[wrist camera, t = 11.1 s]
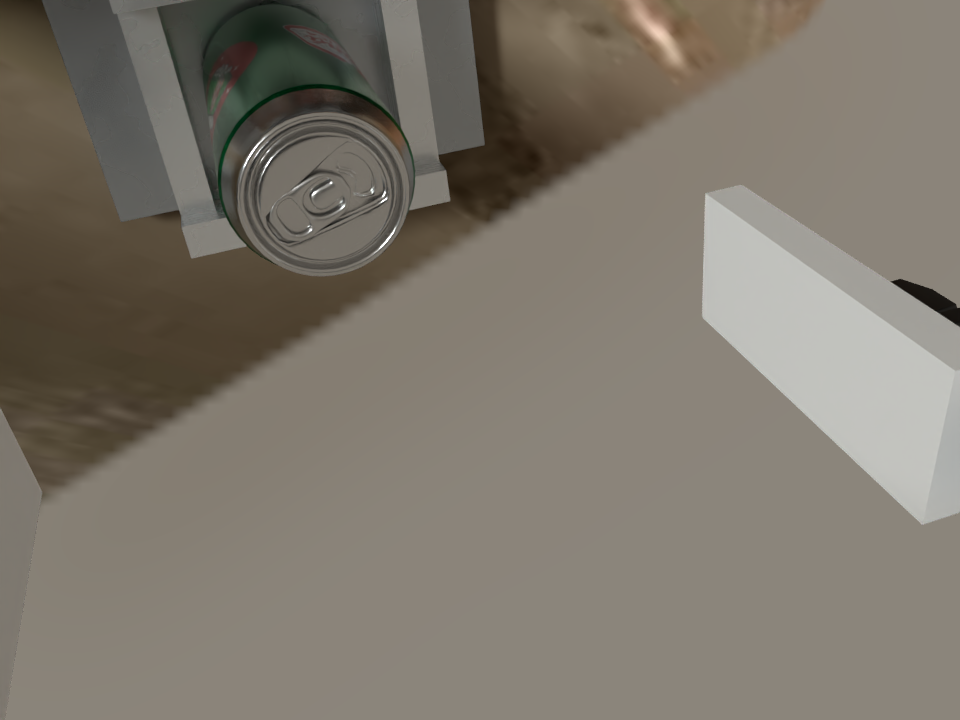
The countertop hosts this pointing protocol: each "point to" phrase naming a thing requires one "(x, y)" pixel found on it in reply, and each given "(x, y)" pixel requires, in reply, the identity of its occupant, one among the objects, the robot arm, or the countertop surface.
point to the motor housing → (182, 106)
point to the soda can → (303, 144)
